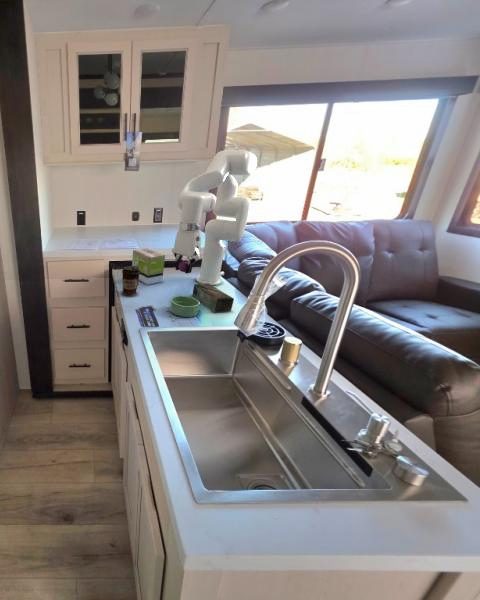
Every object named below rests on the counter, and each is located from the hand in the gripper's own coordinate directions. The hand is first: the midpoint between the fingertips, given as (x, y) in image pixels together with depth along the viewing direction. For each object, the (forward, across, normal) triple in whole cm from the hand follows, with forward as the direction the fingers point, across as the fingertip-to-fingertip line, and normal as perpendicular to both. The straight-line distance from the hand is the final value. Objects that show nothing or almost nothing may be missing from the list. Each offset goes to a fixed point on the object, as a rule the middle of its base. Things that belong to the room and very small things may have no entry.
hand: (183, 270), depth 130 cm
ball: (-2, 0, 0) cm, 2 cm away
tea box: (+16, +32, -11) cm, 38 cm away
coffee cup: (+16, +21, +10) cm, 28 cm away
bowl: (+16, -6, +3) cm, 17 cm away
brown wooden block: (+16, -6, -13) cm, 22 cm away
